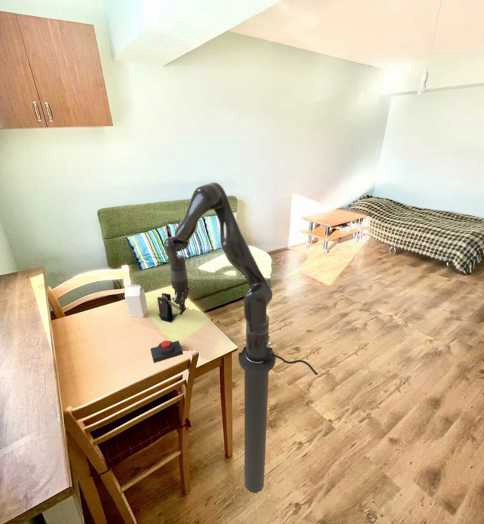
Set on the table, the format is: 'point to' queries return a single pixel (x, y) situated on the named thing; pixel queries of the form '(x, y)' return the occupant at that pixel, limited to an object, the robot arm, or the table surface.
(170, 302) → the lever
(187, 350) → the table surface
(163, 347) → the button
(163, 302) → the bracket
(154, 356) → the control block
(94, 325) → the table surface
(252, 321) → the robot arm
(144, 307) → the milk carton
